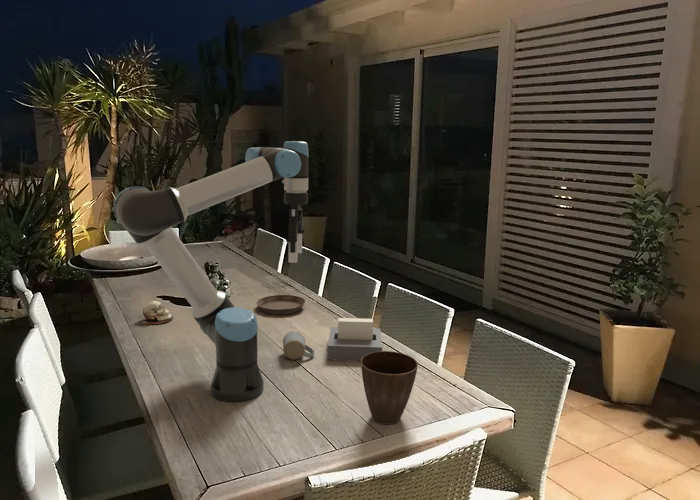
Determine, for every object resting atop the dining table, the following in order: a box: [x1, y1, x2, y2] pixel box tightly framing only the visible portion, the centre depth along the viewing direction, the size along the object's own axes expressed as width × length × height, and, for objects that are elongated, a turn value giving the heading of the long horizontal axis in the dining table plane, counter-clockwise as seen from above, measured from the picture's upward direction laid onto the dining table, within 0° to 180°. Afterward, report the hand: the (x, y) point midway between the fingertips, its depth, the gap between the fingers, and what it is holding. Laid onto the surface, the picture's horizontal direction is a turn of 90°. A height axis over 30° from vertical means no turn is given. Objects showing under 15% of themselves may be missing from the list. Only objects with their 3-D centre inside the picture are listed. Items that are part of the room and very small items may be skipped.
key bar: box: [337, 317, 374, 340], centre depth 192 cm, size 12×4×10 cm, turn 90°
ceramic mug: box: [282, 330, 316, 361], centre depth 186 cm, size 11×8×8 cm
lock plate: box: [327, 326, 383, 362], centre depth 192 cm, size 18×18×5 cm
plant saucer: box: [256, 294, 306, 315], centre depth 236 cm, size 21×21×3 cm
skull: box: [142, 300, 174, 325], centre depth 217 cm, size 12×10×10 cm
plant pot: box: [360, 350, 419, 425], centre depth 146 cm, size 15×15×16 cm
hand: (295, 257), depth 177 cm, fingers open, 13 cm apart
